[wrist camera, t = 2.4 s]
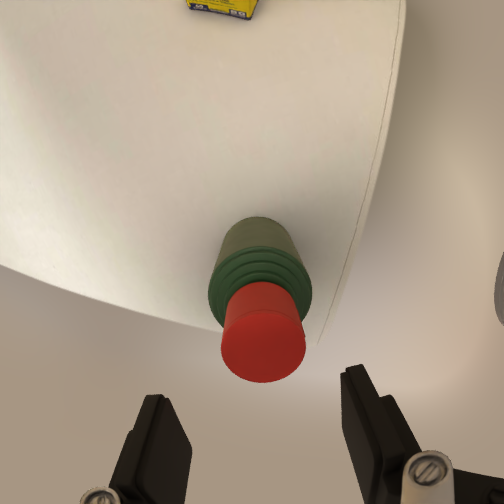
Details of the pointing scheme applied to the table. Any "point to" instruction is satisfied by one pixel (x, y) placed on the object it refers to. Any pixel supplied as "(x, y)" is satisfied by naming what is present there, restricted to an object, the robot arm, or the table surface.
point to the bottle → (258, 265)
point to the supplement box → (226, 7)
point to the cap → (262, 333)
